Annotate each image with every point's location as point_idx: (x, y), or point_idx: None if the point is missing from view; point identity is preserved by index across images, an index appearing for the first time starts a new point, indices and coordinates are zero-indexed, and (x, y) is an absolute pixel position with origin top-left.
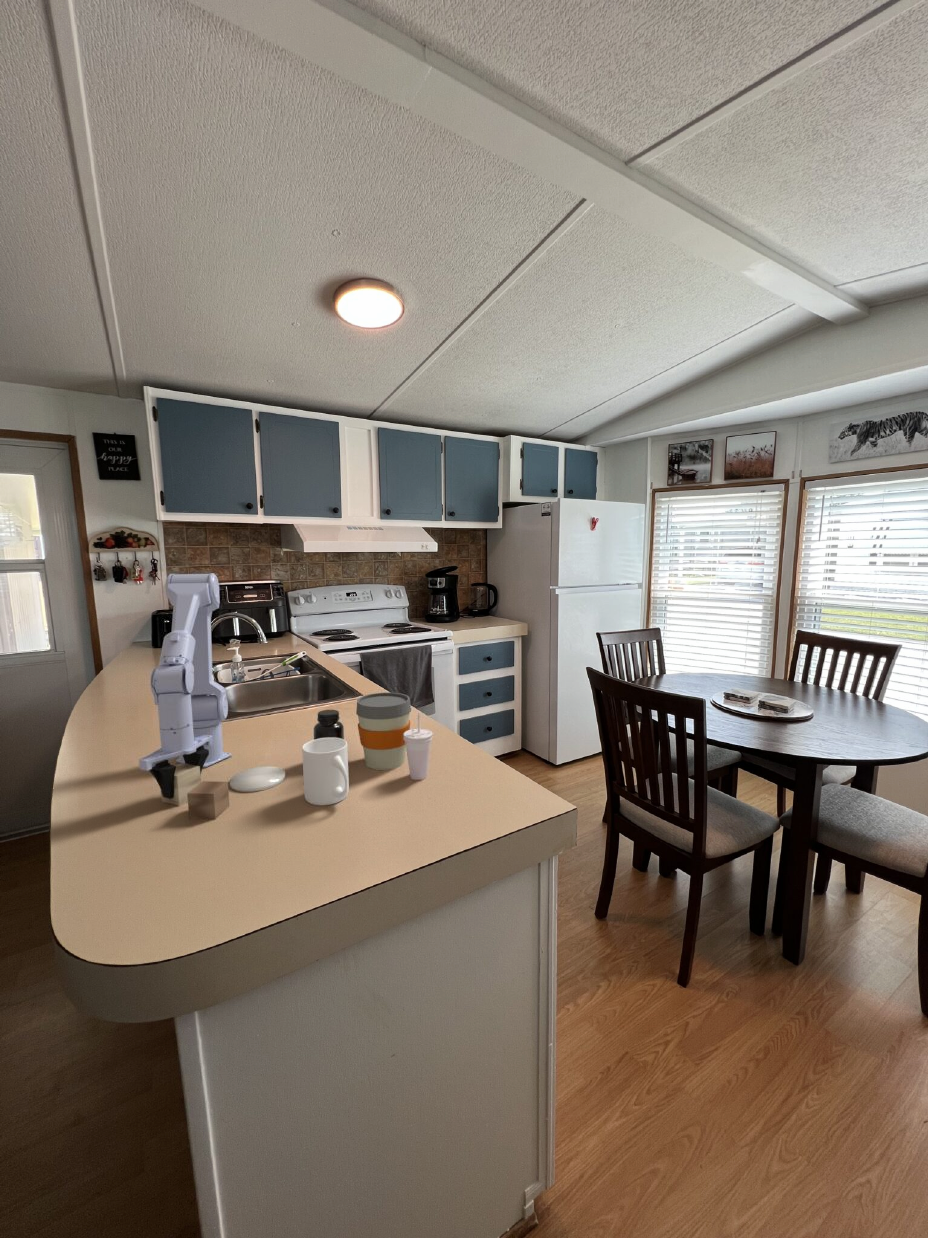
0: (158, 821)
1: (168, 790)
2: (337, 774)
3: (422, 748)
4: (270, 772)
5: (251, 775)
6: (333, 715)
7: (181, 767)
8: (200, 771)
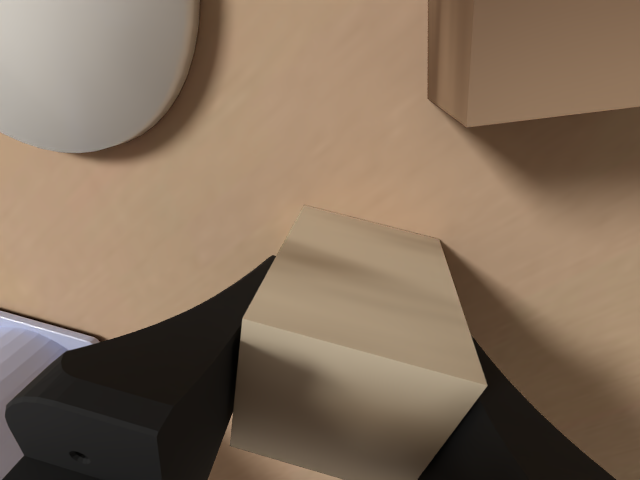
0: (626, 238)
1: None
2: None
3: None
4: None
5: (12, 26)
6: None
7: (300, 424)
8: (231, 295)
